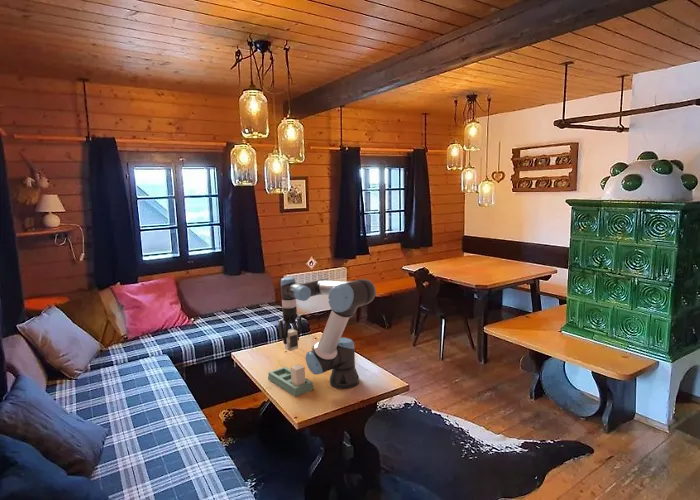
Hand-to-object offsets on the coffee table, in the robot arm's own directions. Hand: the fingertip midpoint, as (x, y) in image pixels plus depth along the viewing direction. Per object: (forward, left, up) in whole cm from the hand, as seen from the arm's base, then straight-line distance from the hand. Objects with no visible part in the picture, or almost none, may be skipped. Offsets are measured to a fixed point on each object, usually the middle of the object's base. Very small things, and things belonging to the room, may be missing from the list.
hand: (291, 347), depth 235 cm
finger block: (0, 0, 0) cm, 0 cm away
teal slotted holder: (-9, +8, -15) cm, 19 cm away
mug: (+7, -24, -15) cm, 29 cm away
